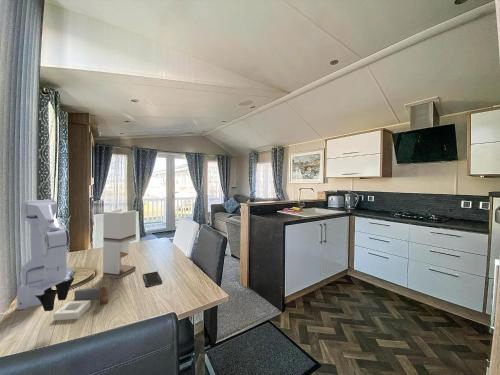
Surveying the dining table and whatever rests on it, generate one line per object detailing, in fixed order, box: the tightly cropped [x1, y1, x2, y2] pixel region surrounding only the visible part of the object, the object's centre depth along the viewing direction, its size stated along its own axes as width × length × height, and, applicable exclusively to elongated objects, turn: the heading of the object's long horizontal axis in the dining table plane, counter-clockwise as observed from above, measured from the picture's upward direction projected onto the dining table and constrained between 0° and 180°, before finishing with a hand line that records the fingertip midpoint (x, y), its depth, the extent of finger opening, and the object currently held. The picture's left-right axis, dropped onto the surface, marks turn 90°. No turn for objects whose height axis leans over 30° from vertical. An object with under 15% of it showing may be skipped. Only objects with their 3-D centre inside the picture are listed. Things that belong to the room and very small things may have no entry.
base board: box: [73, 287, 100, 301], centre depth 85 cm, size 11×17×4 cm, turn 9°
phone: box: [142, 271, 163, 288], centre depth 113 cm, size 8×1×15 cm
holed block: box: [53, 299, 92, 321], centre depth 82 cm, size 8×8×2 cm
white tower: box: [102, 209, 137, 279], centre depth 119 cm, size 11×11×35 cm
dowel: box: [99, 284, 109, 306], centre depth 89 cm, size 3×3×8 cm
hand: (55, 304), depth 73 cm, fingers open, 6 cm apart
